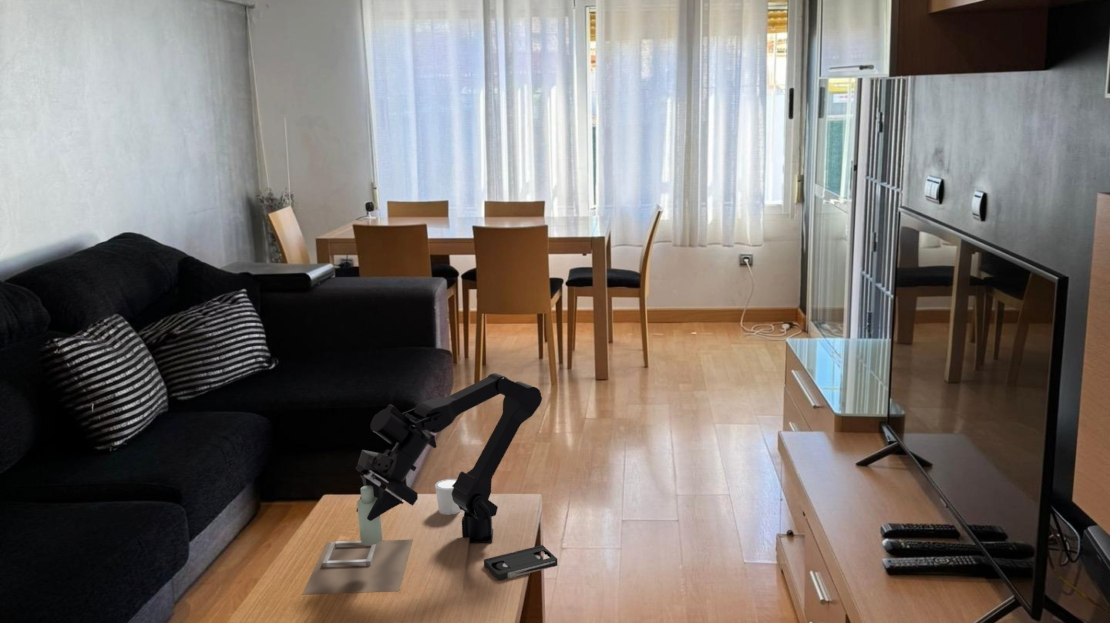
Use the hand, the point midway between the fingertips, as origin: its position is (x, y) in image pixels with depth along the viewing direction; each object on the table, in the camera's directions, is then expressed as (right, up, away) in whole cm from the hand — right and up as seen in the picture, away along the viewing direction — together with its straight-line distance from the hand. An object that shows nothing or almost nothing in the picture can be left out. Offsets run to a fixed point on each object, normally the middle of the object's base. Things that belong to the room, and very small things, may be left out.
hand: (363, 516), depth 210 cm
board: (-2, -13, +6) cm, 14 cm away
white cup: (+15, -6, +35) cm, 39 cm away
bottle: (+1, -6, +2) cm, 6 cm away
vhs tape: (+33, -13, +5) cm, 36 cm away
